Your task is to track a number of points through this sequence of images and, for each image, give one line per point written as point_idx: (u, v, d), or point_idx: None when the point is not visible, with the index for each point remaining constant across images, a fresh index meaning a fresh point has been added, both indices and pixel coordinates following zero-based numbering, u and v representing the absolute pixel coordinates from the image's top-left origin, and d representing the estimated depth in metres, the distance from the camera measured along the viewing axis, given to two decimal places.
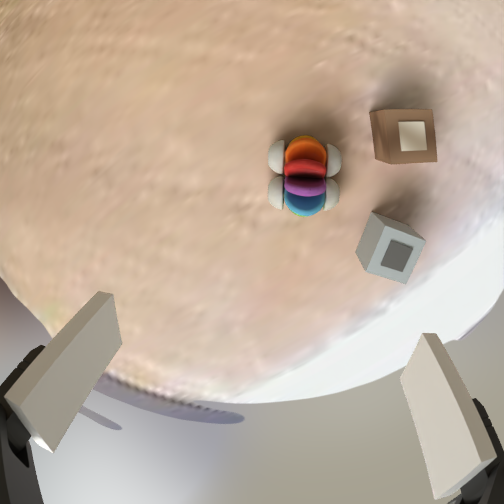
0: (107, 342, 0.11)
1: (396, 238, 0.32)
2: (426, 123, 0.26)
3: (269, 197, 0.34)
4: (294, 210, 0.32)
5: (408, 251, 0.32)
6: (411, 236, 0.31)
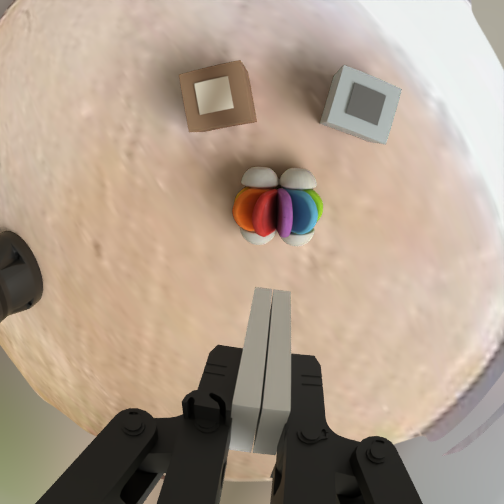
0: None
1: (343, 105, 0.24)
2: (196, 79, 0.24)
3: (299, 245, 0.33)
4: (310, 227, 0.29)
5: (358, 88, 0.23)
6: (339, 85, 0.23)
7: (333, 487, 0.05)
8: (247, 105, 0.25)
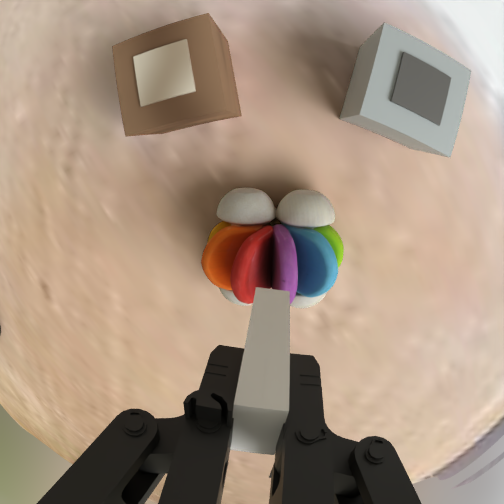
0: None
1: (386, 87, 0.13)
2: (137, 50, 0.13)
3: (306, 307, 0.22)
4: (325, 290, 0.18)
5: (409, 61, 0.12)
6: (378, 54, 0.12)
7: (331, 487, 0.05)
8: (219, 85, 0.14)
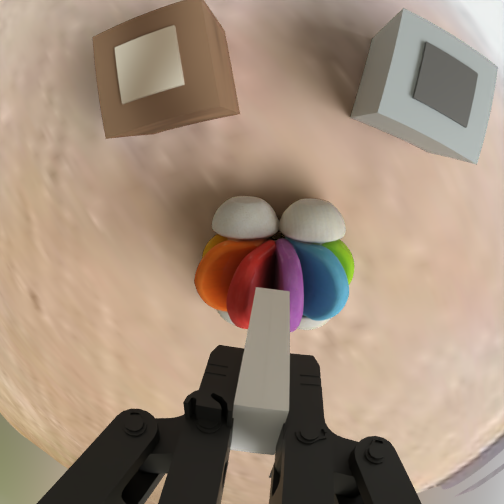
0: None
1: (407, 82, 0.10)
2: (119, 40, 0.11)
3: None
4: (334, 314, 0.16)
5: (433, 53, 0.09)
6: (398, 43, 0.10)
7: (331, 487, 0.05)
8: (212, 77, 0.11)
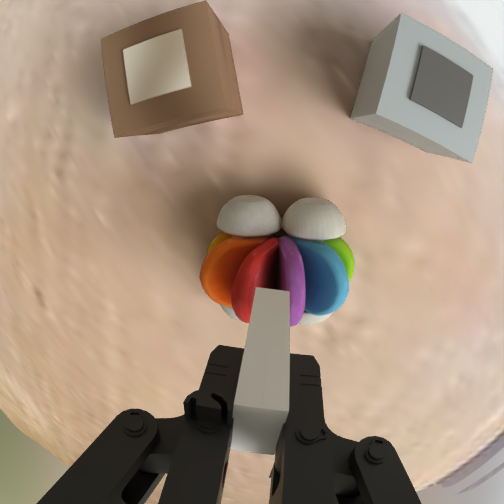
0: None
1: (405, 84, 0.11)
2: (127, 42, 0.11)
3: (313, 324, 0.20)
4: (335, 309, 0.16)
5: (430, 56, 0.10)
6: (396, 47, 0.10)
7: (331, 487, 0.05)
8: (217, 80, 0.12)
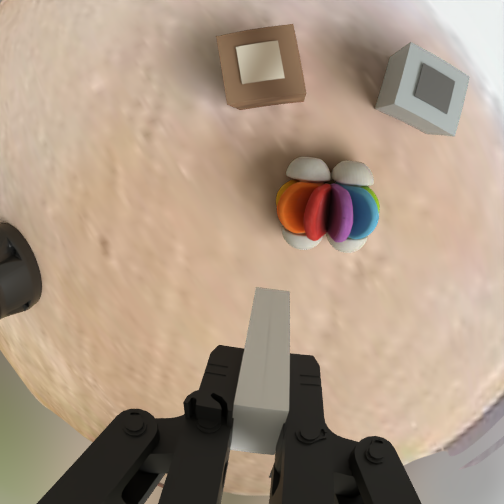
0: None
1: (411, 87, 0.18)
2: (238, 42, 0.19)
3: None
4: (369, 232, 0.24)
5: (427, 70, 0.17)
6: (406, 64, 0.17)
7: (331, 487, 0.05)
8: (301, 76, 0.19)
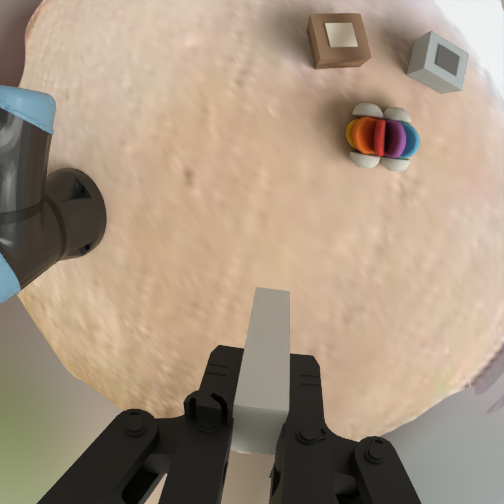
0: None
1: (433, 58, 0.25)
2: (325, 20, 0.25)
3: (400, 170, 0.34)
4: (414, 151, 0.30)
5: (442, 48, 0.24)
6: (429, 44, 0.24)
7: (331, 487, 0.05)
8: (367, 46, 0.26)
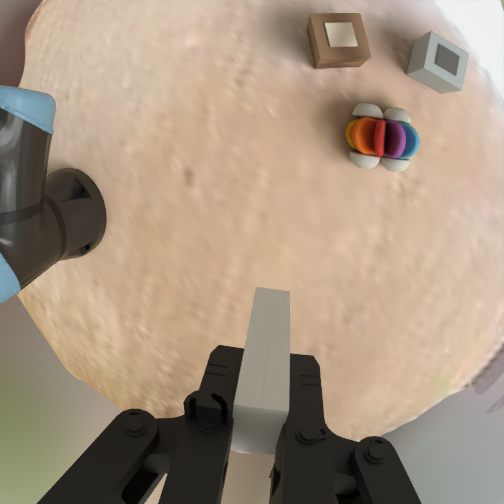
0: None
1: (433, 58, 0.25)
2: (325, 20, 0.25)
3: (400, 170, 0.34)
4: (414, 151, 0.30)
5: (442, 48, 0.24)
6: (429, 44, 0.24)
7: (331, 487, 0.05)
8: (367, 46, 0.26)
